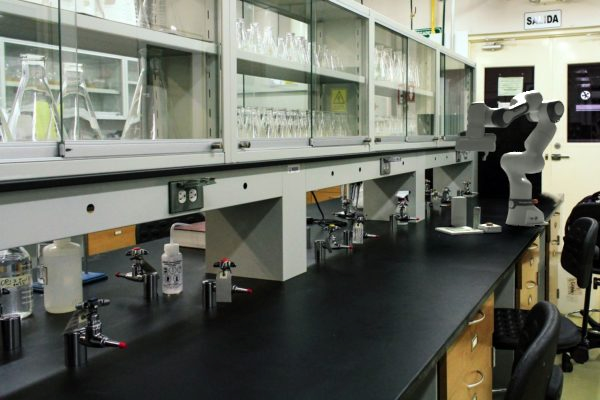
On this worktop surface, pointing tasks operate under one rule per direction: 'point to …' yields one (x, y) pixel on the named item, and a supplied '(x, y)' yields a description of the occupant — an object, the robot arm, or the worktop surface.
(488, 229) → the button housing
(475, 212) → the sage marker
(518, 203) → the robot arm
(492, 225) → the button
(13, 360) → the worktop surface
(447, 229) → the board
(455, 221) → the skincare box
